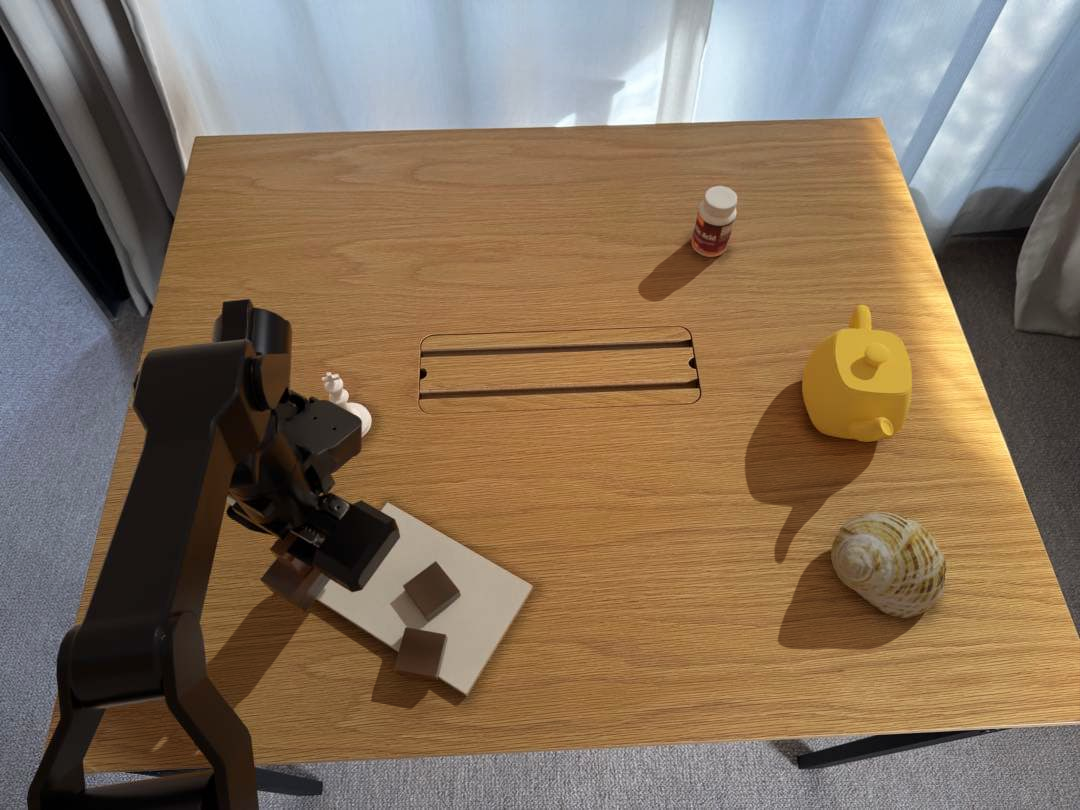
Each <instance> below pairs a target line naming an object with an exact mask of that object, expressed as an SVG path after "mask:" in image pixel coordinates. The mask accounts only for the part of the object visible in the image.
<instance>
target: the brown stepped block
mask: <svg viewBox="0 0 1080 810" xmlns="http://www.w3.org/2000/svg"><path fill="white" fill-rule="evenodd" d="M329 493H331V494H334V492H332V491H329ZM335 495H336V496H338V497H340V496H339V495H338V494H335ZM342 499H343V500H345V501H347V500H346V499H344V498H342ZM349 503H350V504H352V503H351V502H349ZM317 509H318V507H317ZM297 537H298V536H297V535H295V534H294V533H292V532H289V533H288V535H287V536H286V537H285V538H284V540H283V541H282V540H280V539H279V538H277V539H276V541H275V542H274V544H273V545H272V546H271V547H270V548H269V551H270V552H271V553H272V554H273V556H274V557H275V560H274V561H273V562H272V564H271V565H270V566H269V568H268V569H266V571H265V572H264V574H263V575H262V576H261V577H260V582H261V583H262V584H263V585H264V586H265V587H267V588H268V589H269V590H270V592H272V593H273V594H275V595H276V596H278V597H280V598H281V599H283V600H284V601H286V602H287V603H289V605H292V606H293V607H295V608H297V609H298V610H300V611H302V613H306V612H307V611H308V610H309V609H310V607H311V606H312V604H313V603H314V602H315V600H316V598H317V596H318V595H319V594H320V592H321V591H322V590H323V588H324V587H325V586H326V584H327V583H328V582H329V580H330V579H329V578H327V577H326V576H325V575H323V574H322V573H321V572H320V571H318V570H317V569H316V568H315V567H310V566H308V565H306V564H305V563H303V562H301V561H300V560H298V559H296V558H295V557H293V556H292V555H290V554H288V553H287V552H286V551H287V550H288V548H289V547H290V546H291V545H292V543H293V542H294V541H295V540H296V538H297Z"/></svg>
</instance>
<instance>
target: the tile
mask: <svg viewBox="0 0 1080 810" xmlns="http://www.w3.org/2000/svg"><path fill="white" fill-rule="evenodd" d="M380 511H381V512H383V513H385V514H387V515H388V516H390V517H392V518H394V519H395V521H396V523H397V525H398V528H399V533H400V538H399V540H398V541H397V542H396V544H395V545H394V547H393V548H392V549H391V551H390V552H389V554H388V555H387V556H386V558H385V559H384V560H383V562H382V563H381V565H380V566H379V567H378V569H377V570H376V572H375V573H374V574H373V576H372V577H371V579H370V580H369V581H368V583H367V584H366V585H365V587H364V588H363V590H360V591H356V592H350V591H349V590H347V589H345V588H344V587H342V586H341V585H339V584H337V583H336V582H334V581H332V580H331V579H330V580H329V582H328V583H327V584H326V586H325V587H324V588H323V590H322V591H321V592H320V594H319V595H318V596H317V598H316V599H315V600H316V601H317V602H318V603H320V604H321V605H323V606H325V607H326V608H328V609H329V610H331V611H332V612H334V613H336V614H337V615H339V616H340V617H342V618H343V619H345V620H347V621H348V622H350V623H351V624H353V625H354V626H356V627H357V628H359V629H361V630H362V631H363V632H366V633H367V634H368V635H370V636H372V637H373V638H374V639H377V640H378V641H379V642H381V643H383V645H386V646H387V647H389V648H390V649H392V650H393V651H395V652H396V653H398V652H399V649H400V645H401V641H402V638H403V634H404V630H405V627H408V628H414V629H419V630H425V631H430V632H436V633H441V634H446V636H447V638H448V640H447V644H446V649H445V653H444V657H443V661H442V665H441V669H440V673H439V678H438V680H440V681H441V682H443V683H445V684H446V685H448V686H449V687H451V688H453V689H454V690H455V691H457V692H459V693H460V694H462V695H463V696H465V697H469V694H470V693H471V692H472V689H473V688H474V687H475V684H476V682H477V681H478V680H479V678H480V676H481V675H482V672H483V671H484V670H485V669H486V667H487V666H488V663H489V661H490V660H491V658H492V656H493V655H494V654H495V652H496V651H497V649H498V647H499V645H500V644H501V642H502V640H503V639H504V637H505V635H507V632H508V631H509V629H510V627H511V626H512V624H513V623H514V621H515V619H516V617H517V616H518V614H519V612H520V611H521V610H522V608H523V606H524V605H525V603H526V601H527V599H528V598H529V597H530V595H531V593H532V592H533V589H534V587H533V584H530V583H528V582H527V581H525V580H524V579H522V578H520V577H518V576H517V575H515V574H513V573H511V572H509V571H508V570H506V569H505V568H503V567H502V566H501V567H500V566H499V565H498V564H496V563H494V562H492V561H491V560H489V559H487V558H486V557H484V556H482V555H480V554H478V553H476V552H475V551H473V550H472V549H470V548H468V547H467V546H464V545H463V544H461V543H460V542H457V541H456V540H454V539H452V538H450V537H449V536H447V535H445V534H444V533H442V532H440V531H438V530H437V529H435V528H433V527H431V526H430V525H428V524H427V523H425V522H423V521H421V520H420V519H418V518H416V517H414V516H413V515H411V514H410V513H407V512H405V511H404V510H402V509H400V508H398V507H397V506H395V505H393V504H392V503H390V502H388V501H387V502H386V504H385V505H384V506H383V507H382V509H381V510H380ZM435 561H437V563H438V564H439V565H440V566H441V568H442V569H443V570H444V571H445V573H446V574H447V575H448V577H449V578H450V579H451V580H452V582H453V583H454V584H455V585H456V587H457V588H458V589H459V591H460V594H461V596H460V597H458V598H457V599H456V600H455V601H453V602H452V603H451V604H449V605H448V606H447V607H446V608H444V609H443V610H442V611H440V612H439V613H438V614H437V615H435V616H434V617H433V618H431V619H430V620H429V621H428V620H427V619H426V618H425V616H424V615H423V614H422V612H421V611H420V610H419V609H418V607H417V606H416V605H415V603H414V602H413V601H412V599H411V598H410V597H409V595H408V594H407V593H406V591H405V589H404V587H403V585H404V584H406V583H407V582H408V581H410V580H411V579H412V578H414V577H415V576H416V575H418V574H419V573H420V572H422V571H423V570H424V569H426V568H427V567H428V566H430V565H431V564H432V563H434V562H435Z"/></svg>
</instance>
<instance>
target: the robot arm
mask: <svg viewBox="0 0 1080 810" xmlns="http://www.w3.org/2000/svg"><path fill="white" fill-rule="evenodd" d="M212 327H213V328H212V335H211V342H206V343H197V344H188V345H180V346H172V347H162V348H156V349H151V350H150V351H148V352H147V354H146V355H145V357H144V358H143V360H142V362H141V365H140V368H139V369H140V370H138V371H137V373H136V375H135V377H134V381H133V383H132V386H133V387H132V388H133V392H132V397H133V399H132V402H131V403H132V404H131V407H132V408H133V411H134V412H135V414H136V416H137V418H138V420H139V422H140V423H141V425H142V427H143V429H144V431H145V434H144V440H143V443H142V449H141V452H140V454H139V457H138V460H137V463H136V466H135V469H134V471H133V475H132V477H131V480H130V484H129V486H128V489H127V492H126V494H125V498H124V501H123V503H122V506H121V508H120V512H119V515H118V518H117V522H116V524H115V527H114V529H113V532H112V535H111V537H110V541H109V543H108V546H107V550H106V552H105V555H104V558H103V562H102V564H101V567H100V570H99V573H98V575H97V578H96V581H95V584H94V587H93V590H92V593H91V595H90V599H89V601H88V604H87V606H86V609H85V613H84V616H83V619H82V621H81V623H80V624H78V625H73V627H71V628H70V629H68V631H66V633H65V634H64V636H63V638H62V640H61V642H60V644H59V647H58V653H57V656H56V666H55V667H56V670H55V672H56V674H55V675H56V687H57V696H58V706H59V716H60V717H59V720H58V722H57V725H56V727H55V729H54V731H53V733H52V736H51V738H50V740H49V741H48V742H49V743H48V745H47V747H46V749H45V751H44V753H43V756H42V758H41V760H40V762H39V765H38V767H37V769H36V771H35V773H34V775H33V778H32V781H31V783H30V785H29V787H28V789H27V795H26V806H27V810H260V804H259V795H258V794H259V793H258V786H257V785H258V783H257V775H256V767H255V758H254V749H253V748H254V747H253V740H252V736H251V733H250V729H248V727H247V725H246V724H245V723H244V722H243V721H242V718H240V717H239V715H238V714H237V712H236V711H235V710H234V709H233V707H232V706H231V704H229V702H228V700H227V699H226V698H225V697H224V695H223V694H222V693H221V692H220V690H219V688H217V686H216V684H215V683H214V682H213V681H212V679H211V678H210V677H209V675H208V668H207V658H206V649H205V639H204V634H203V628H202V625H201V619H202V614H203V610H204V605H205V601H206V597H207V592H208V587H209V582H210V578H211V574H212V569H213V564H214V560H215V555H216V550H217V547H218V542H219V538H220V537H219V536H220V533H221V528H222V523H223V519H224V514H225V509H226V505H228V507H227V509H226V515H227V517H228V518H229V519H231V520H232V521H234V522H236V523H238V524H239V525H241V526H242V527H245V528H246V529H247V530H249V531H252V532H255V533H259V534H260V533H261V534H265V535H267V536H273V537H275V538H276V539H280V540H282V541H283V540H284V538H285V537H286V536H287V535H288V533H289V532H292V533H294V534H295V535H297V536H298V537H297V538H296V540H295V541H294V542H293V543H292V545H291V546H290V547H289V548H288V550H287V551H286V552H287V553H288V554H290V555H292V556H293V557H295V558H296V559H298V560H300V561H301V562H303V563H305V564H306V565H308V566H310V567H315V568H316V569H317V570H318V571H320V572H321V573H322V574H323V575H325V576H326V577H327V578H329V579H331V580H332V581H334V582H336V583H337V584H339V585H341V586H342V587H344V588H345V589H347V590H349V591H350V592H356V591H360V590H363V588H364V587H365V585H366V584H367V583H368V581H369V580H370V579H371V577H372V576H373V574H374V573H375V572H376V570H377V569H378V567H379V566H380V565H381V563H382V562H383V560H384V559H385V558H386V556H387V555H388V554H389V552H390V551H391V549H392V548H393V547H394V545H395V544H396V542H397V541H398V540H399V538H400V533H399V528H398V525H397V523H396V521H395V519H394V518H392V517H390V516H388V515H387V514H385V513H383V512H381V510H379V509H378V508H376V507H374V506H372V505H371V504H369V503H367V502H366V501H364V500H362V499H361V500H358V501H357V502H354V503H351V502H349V501H348V500H346V499H344V498H343V497H341V496H339V495H337V494H335V493H333V494H331V493H330V492H331V490H332V489H333V487H334V486H335V485H336V481H335V479H334V477H333V476H332V474H334V473H336V472H337V471H338V470H340V469H341V468H342V467H343V466H345V465H346V464H347V463H348V462H350V460H351V459H353V458H354V457H357V456H358V455H359V454H360V453H361V451H362V439H363V437H362V420H361V419H360V418H359V417H358V416H357V415H355V414H353V413H351V412H349V411H347V410H345V409H343V408H342V407H340V406H338V405H336V404H334V403H332V402H330V401H329V400H326V399H319V398H317V397H315V396H313V395H311V396H310V397H309V398H307V397H305V396H304V395H302V394H300V393H298V392H296V391H295V390H293V389H291V376H292V375H291V373H292V351H293V350H292V349H293V348H292V347H293V328H292V325H291V322H290V321H289V320H288V319H285V318H284V317H282V316H281V315H279V314H277V313H276V312H273V311H271V310H268V309H265V308H260V307H255V305H254V304H253V302H252V300H251V298H245V299H236V300H235V299H234V300H227V301H222V308H221V313H220V315H219V316H218V317H217V318H216V319H215V321H214V322H213V326H212ZM336 495H337V496H336ZM338 496H339V497H338ZM343 499H344V500H343ZM345 500H346V501H345ZM350 503H351V504H350ZM317 507H318V509H317ZM156 701H164V702H165V703H166V706H167V709H168V711H169V712H170V713H171V715H172V716H173V717H174V718H175V720H176V721H177V723H178V724H179V725H180V727H181V728H182V729H183V730H184V731H185V733H186V734H187V736H188V737H189V738H190V740H191V741H192V743H193V744H194V745H195V746H196V748H197V749H198V750H199V752H200V753H201V754H202V756H203V757H204V758H205V759H206V761H207V762H208V763H209V765H210V766H211V768H212V769H203V770H199V771H193V772H186V773H178V774H173V775H172V774H171V775H165V776H159V777H153V778H146V779H139V780H133V781H126V782H119V783H113V784H107V785H100V786H94V787H86V781H85V780H86V779H85V768H84V760H85V758H86V755H87V753H88V750H89V748H90V746H91V744H92V741H93V739H94V737H95V735H96V733H97V730H98V728H99V726H100V724H101V722H102V719H103V717H104V715H105V712H106V710H107V709H108V708H116V707H123V706H129V705H138V704H143V703H150V702H156Z"/></svg>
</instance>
